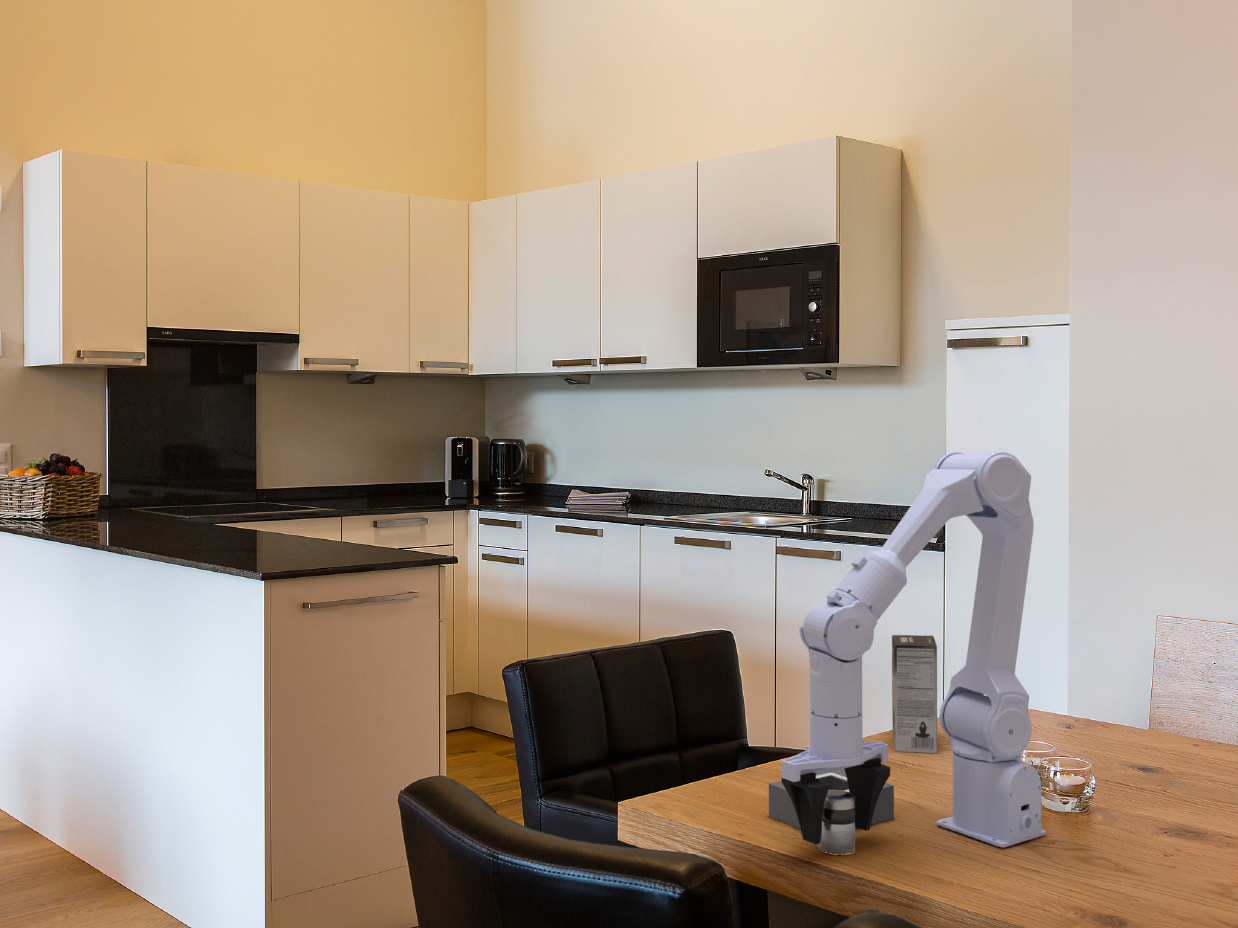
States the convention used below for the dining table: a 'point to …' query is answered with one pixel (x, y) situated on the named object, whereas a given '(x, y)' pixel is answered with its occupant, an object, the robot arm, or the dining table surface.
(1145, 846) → the dining table surface
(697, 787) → the dining table surface
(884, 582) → the robot arm
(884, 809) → the grey hollow block
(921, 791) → the dining table surface
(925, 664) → the coffee box
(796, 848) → the dining table surface
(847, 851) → the lens
